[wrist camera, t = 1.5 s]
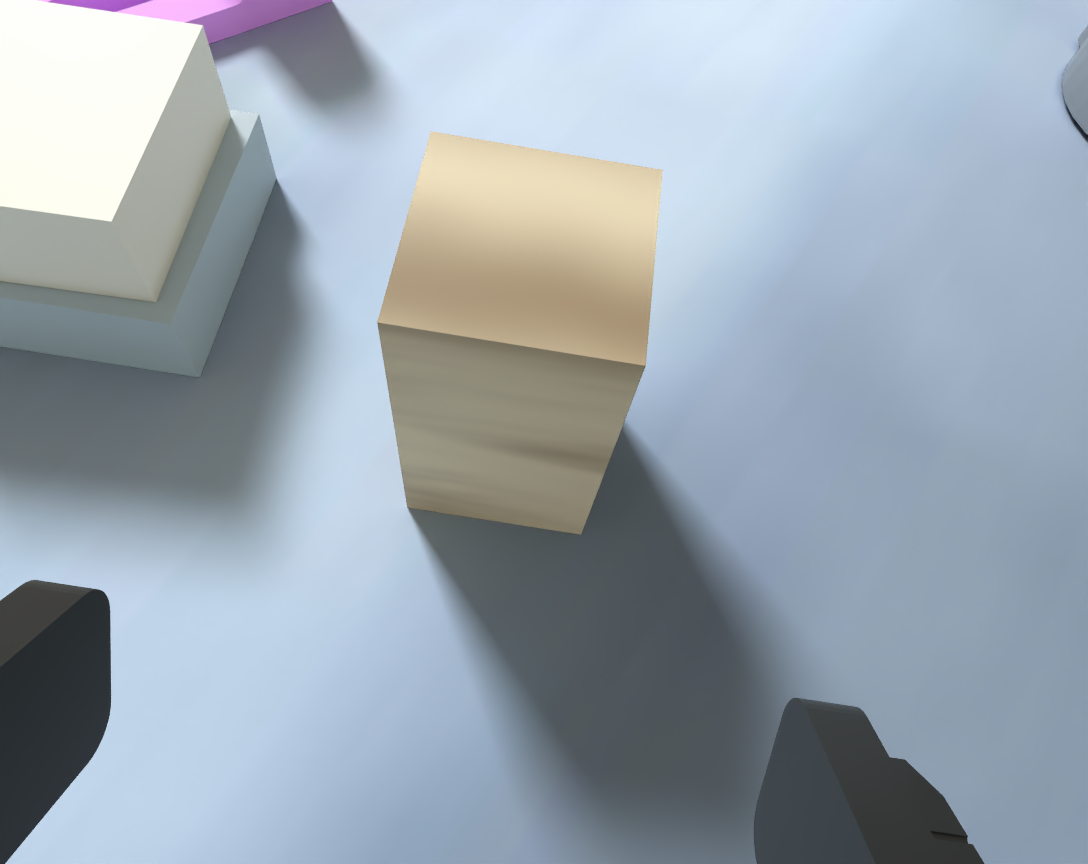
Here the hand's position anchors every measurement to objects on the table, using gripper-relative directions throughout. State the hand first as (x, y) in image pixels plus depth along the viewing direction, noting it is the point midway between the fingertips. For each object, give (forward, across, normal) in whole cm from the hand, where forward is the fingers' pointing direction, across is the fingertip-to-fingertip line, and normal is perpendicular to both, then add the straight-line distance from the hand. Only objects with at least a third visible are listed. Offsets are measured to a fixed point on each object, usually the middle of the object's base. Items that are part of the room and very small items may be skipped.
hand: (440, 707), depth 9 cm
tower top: (+18, +15, -4) cm, 24 cm away
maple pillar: (+17, 0, +2) cm, 17 cm away
